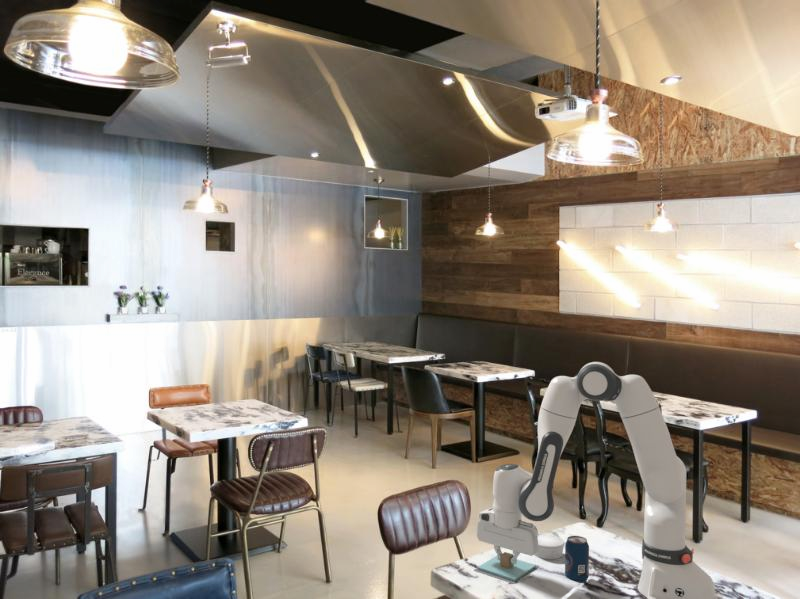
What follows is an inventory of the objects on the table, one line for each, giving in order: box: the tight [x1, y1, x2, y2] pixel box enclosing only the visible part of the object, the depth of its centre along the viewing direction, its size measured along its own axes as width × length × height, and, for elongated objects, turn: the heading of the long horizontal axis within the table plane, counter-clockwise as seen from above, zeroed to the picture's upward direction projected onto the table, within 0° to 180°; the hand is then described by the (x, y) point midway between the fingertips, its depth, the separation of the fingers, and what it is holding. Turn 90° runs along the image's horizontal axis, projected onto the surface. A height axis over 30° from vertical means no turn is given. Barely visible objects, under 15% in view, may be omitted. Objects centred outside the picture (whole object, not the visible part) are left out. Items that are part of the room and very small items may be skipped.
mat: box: [473, 564, 540, 585], centre depth 200 cm, size 14×16×1 cm
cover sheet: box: [477, 551, 536, 581], centre depth 200 cm, size 13×13×4 cm
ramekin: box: [533, 533, 566, 560], centre depth 212 cm, size 11×11×5 cm
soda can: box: [564, 535, 590, 584], centre depth 195 cm, size 7×7×12 cm
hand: (506, 561), depth 200 cm, fingers closed on cover sheet, 3 cm apart
